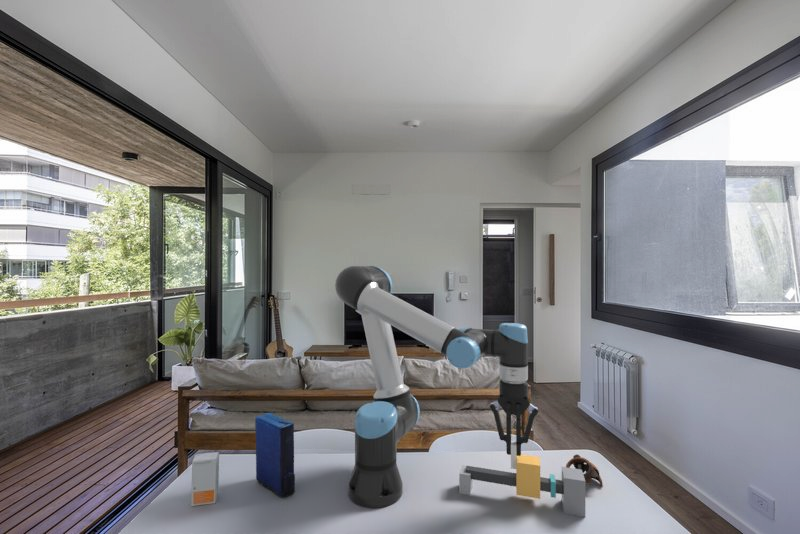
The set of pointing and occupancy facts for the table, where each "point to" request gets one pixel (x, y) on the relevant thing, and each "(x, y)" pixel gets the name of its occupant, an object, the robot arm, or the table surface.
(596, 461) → the table surface
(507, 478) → the slider rail
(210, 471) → the skincare box
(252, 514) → the table surface
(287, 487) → the book
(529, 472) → the sleeve
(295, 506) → the table surface
